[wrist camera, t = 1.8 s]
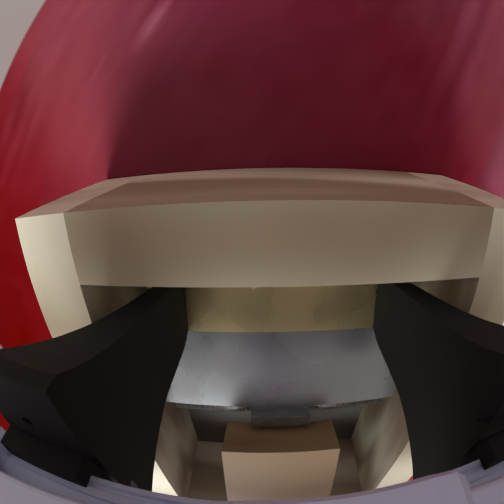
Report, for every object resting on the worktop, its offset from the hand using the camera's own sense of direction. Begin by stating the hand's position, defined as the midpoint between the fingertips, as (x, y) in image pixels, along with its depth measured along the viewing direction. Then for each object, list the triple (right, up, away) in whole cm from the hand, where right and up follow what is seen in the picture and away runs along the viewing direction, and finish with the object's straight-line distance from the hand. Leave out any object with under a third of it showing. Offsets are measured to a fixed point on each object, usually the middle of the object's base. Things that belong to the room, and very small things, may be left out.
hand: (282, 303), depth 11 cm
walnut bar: (0, -9, +1) cm, 9 cm away
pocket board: (0, -3, +4) cm, 5 cm away
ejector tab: (0, -5, +2) cm, 6 cm away
